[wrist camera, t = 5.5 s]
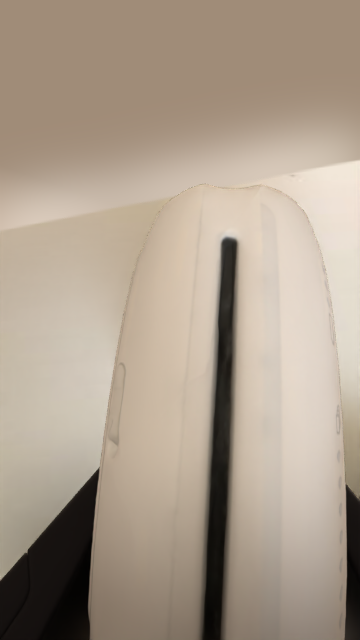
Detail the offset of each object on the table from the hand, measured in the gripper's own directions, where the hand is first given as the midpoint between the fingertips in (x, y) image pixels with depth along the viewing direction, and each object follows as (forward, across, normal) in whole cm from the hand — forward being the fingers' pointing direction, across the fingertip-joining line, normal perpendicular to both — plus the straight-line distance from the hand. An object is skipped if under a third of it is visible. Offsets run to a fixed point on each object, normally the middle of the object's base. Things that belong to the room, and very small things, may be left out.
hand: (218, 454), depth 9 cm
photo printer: (+6, 0, +5) cm, 7 cm away
